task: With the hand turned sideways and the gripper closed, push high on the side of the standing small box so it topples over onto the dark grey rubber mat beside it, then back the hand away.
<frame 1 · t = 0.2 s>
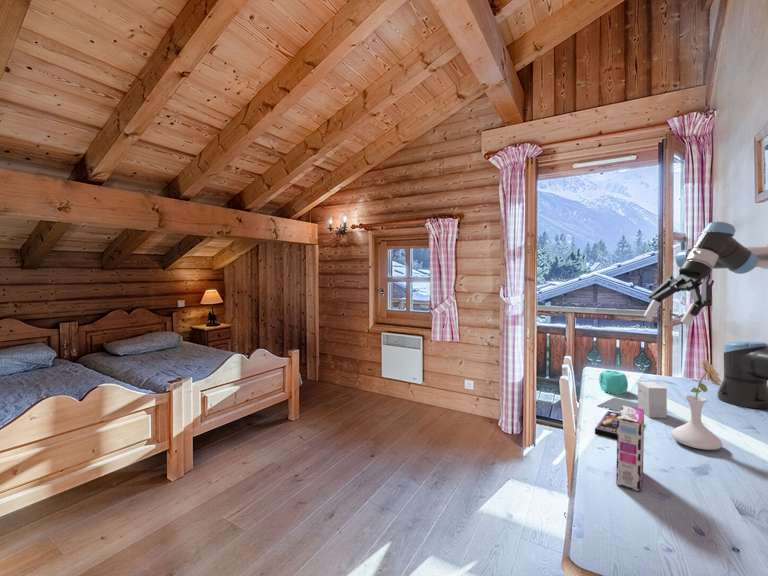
hand: (664, 320, 116), 35 cm above the table, tool tilted 35°, fingers open, 13 cm apart
vhs tape: (618, 430, 116), on the table
decorative dice: (613, 391, 152), on the table
grey mat: (620, 405, 135), on the table
small box: (651, 414, 127), on the table
candy bar box: (630, 479, 88), on the table
flower in vase: (697, 444, 104), on the table
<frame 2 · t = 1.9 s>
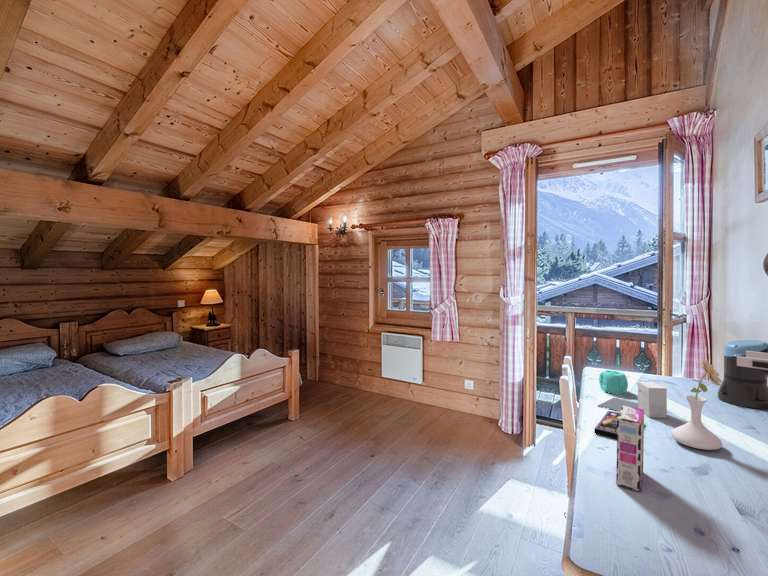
hand: (741, 357, 107), 24 cm above the table, tool horizontal, fingers open, 11 cm apart
nothing on the table moved.
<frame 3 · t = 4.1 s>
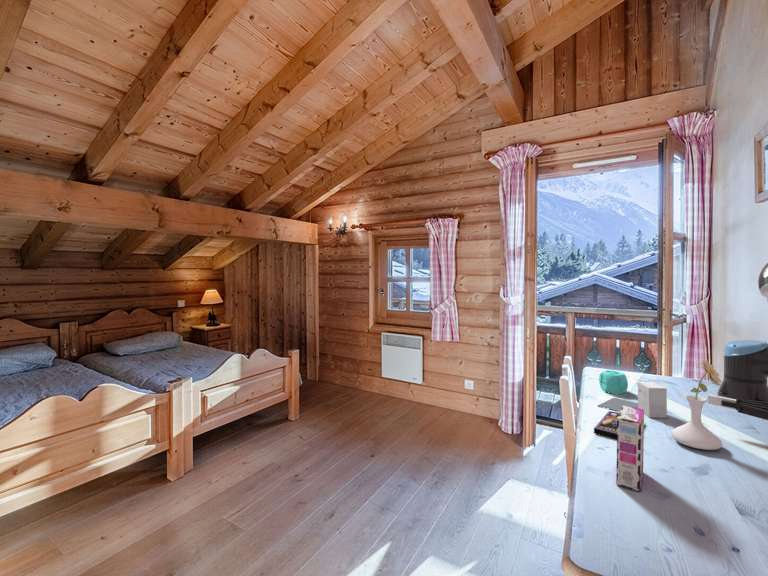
hand: (708, 398, 114), 10 cm above the table, tool horizontal, fingers closed
nothing on the table moved.
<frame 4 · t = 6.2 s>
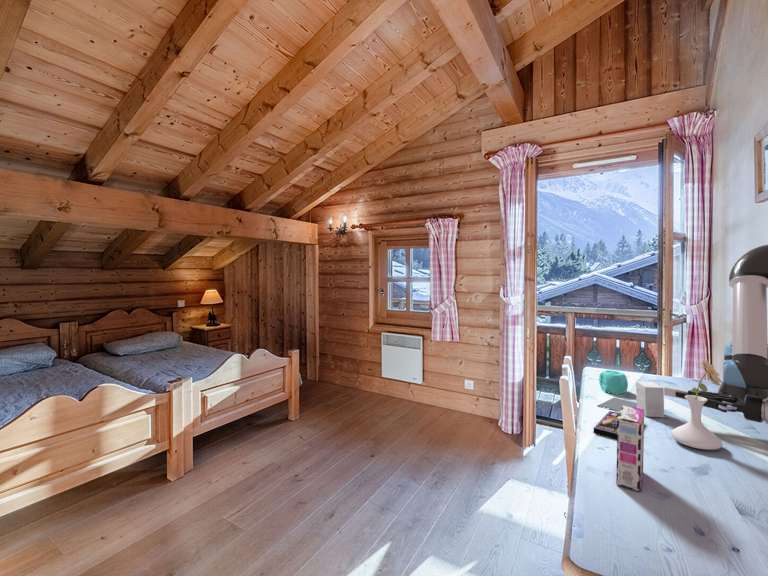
hand: (665, 390, 123), 9 cm above the table, tool horizontal, fingers closed
small box: (649, 413, 127), on the table, touching grey mat, gripper
everything else where it was.
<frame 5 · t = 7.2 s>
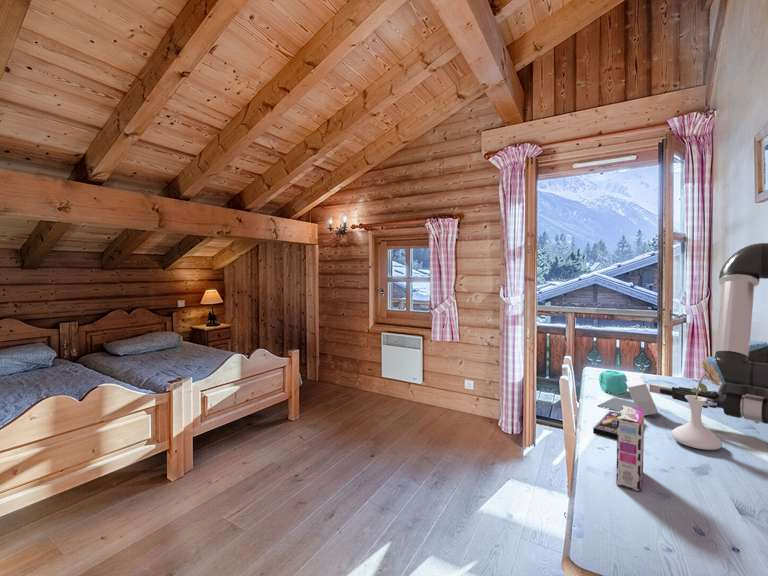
hand: (650, 387, 127), 9 cm above the table, tool horizontal, fingers closed
small box: (647, 411, 127), point 1 cm above the table, touching grey mat, gripper
everything else where it was.
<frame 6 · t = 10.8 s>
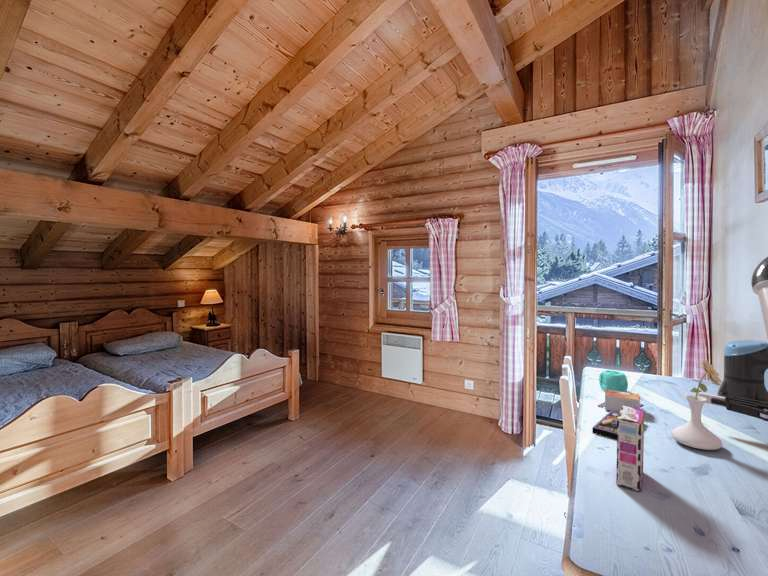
hand: (699, 396, 116), 10 cm above the table, tool horizontal, fingers closed
small box: (640, 404, 128), point 3 cm above the table, touching grey mat
everything else where it was.
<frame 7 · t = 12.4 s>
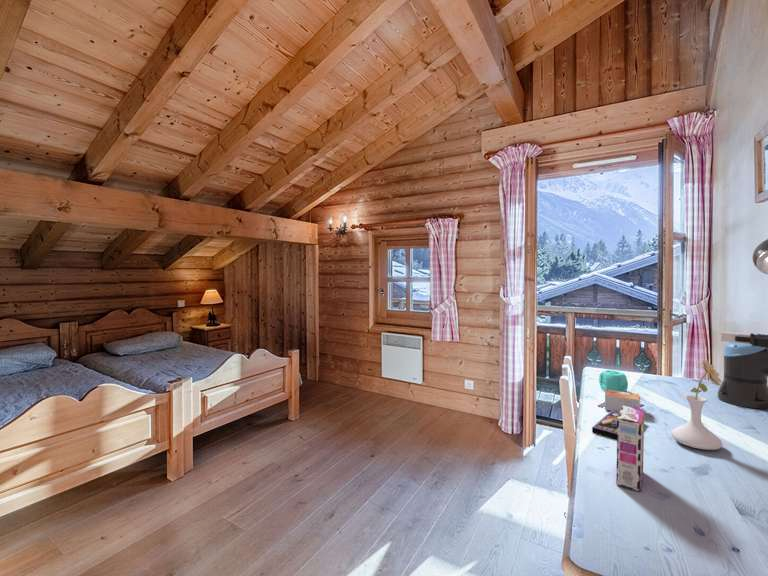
hand: (722, 336, 113), 30 cm above the table, tool horizontal, fingers closed
nothing on the table moved.
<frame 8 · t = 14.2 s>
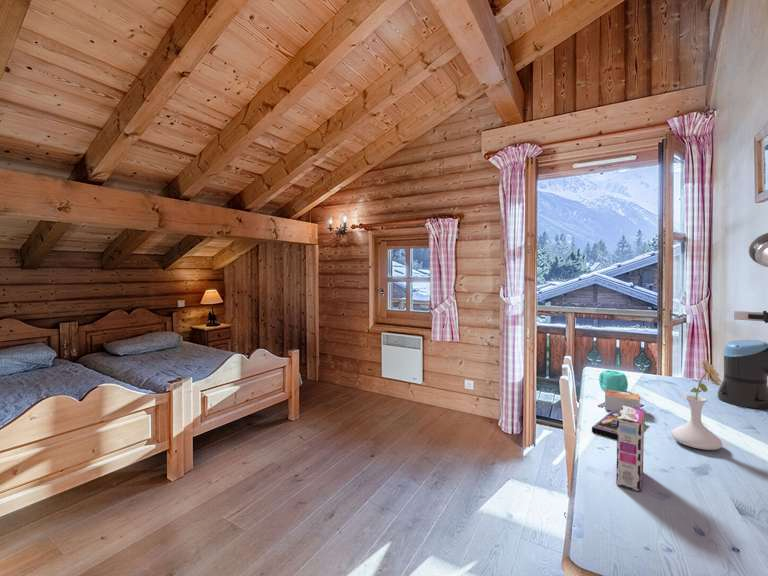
hand: (734, 315, 116), 36 cm above the table, tool horizontal, fingers closed
nothing on the table moved.
at the end: small box tilted 90°; small box touching grey mat; small box inside the target area (2.8 cm from its centre), point 3.0 cm above the table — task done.
